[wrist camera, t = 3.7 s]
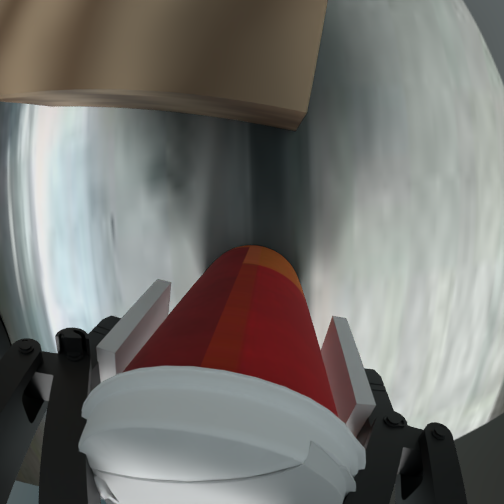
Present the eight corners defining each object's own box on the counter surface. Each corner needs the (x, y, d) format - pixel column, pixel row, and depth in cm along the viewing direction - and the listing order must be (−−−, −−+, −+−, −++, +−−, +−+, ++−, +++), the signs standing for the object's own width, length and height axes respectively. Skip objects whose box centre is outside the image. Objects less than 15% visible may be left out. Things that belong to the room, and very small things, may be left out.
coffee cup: (195, 342, 22) (115, 532, 8) (183, 226, 20) (11, 374, 5) (316, 344, 21) (341, 554, 7) (322, 225, 19) (418, 409, 5)
